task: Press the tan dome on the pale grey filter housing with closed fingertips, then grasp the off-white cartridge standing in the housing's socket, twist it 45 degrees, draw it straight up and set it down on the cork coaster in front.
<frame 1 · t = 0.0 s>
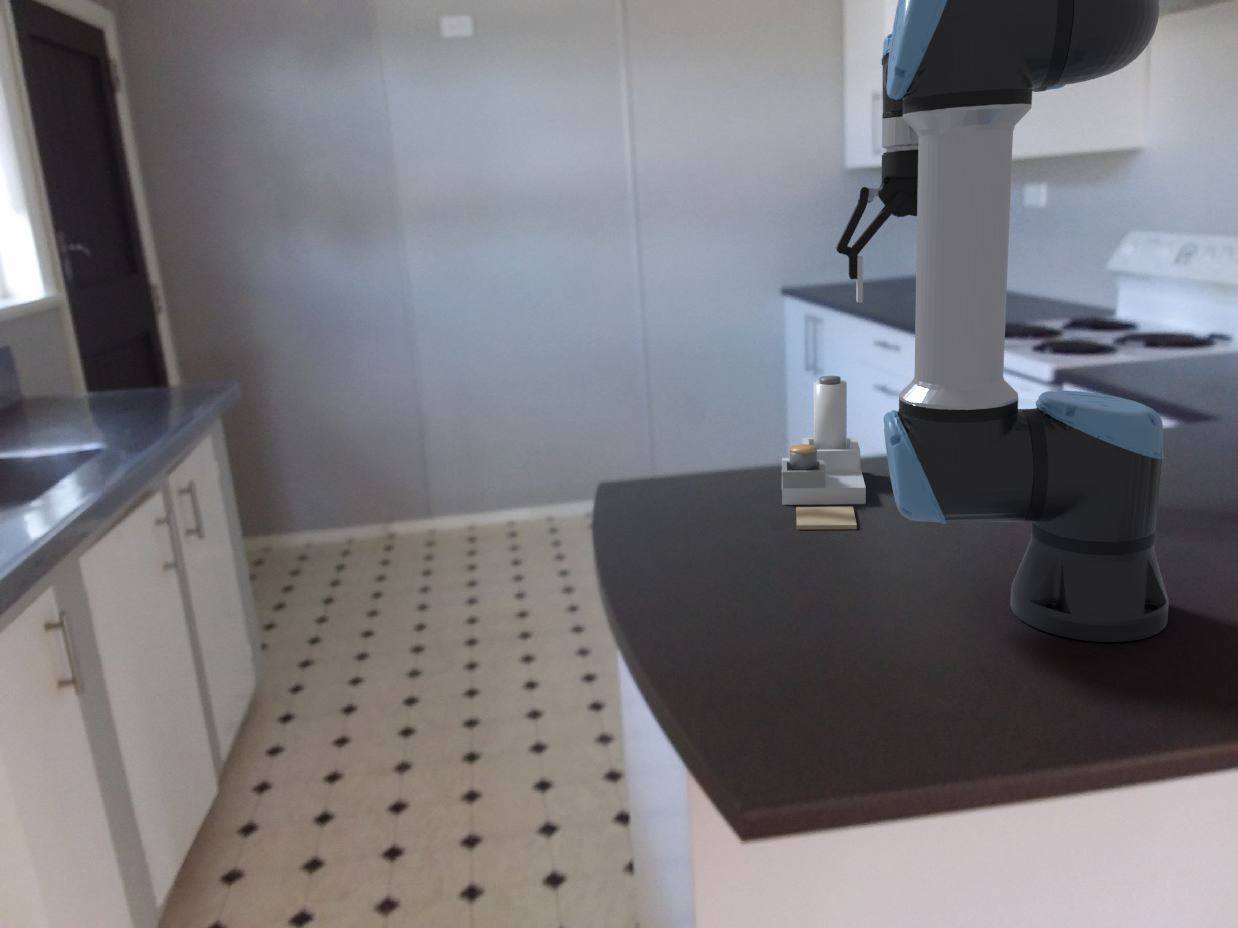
hand: (906, 299, 148), 28 cm above the counter, fingers open, 13 cm apart
coaster: (825, 519, 141), on the counter
cartridge: (830, 465, 158), point 2 cm above the counter, touching housing
housing: (821, 487, 155), on the counter
tan dome: (803, 457, 149), point 6 cm above the counter, slide at 0.0 cm
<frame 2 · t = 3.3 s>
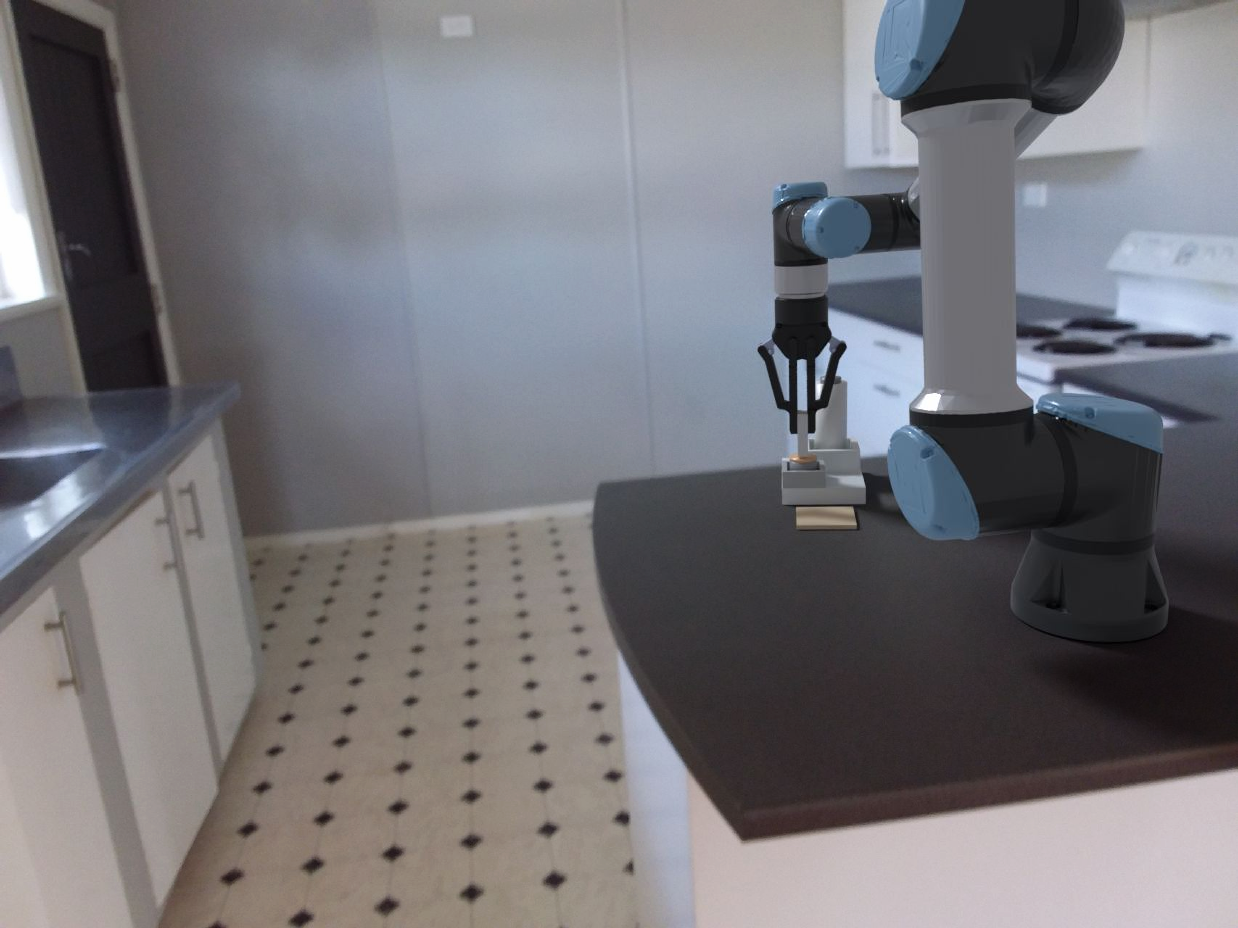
hand: (802, 454, 149), 7 cm above the counter, fingers closed
tan dome: (803, 466, 149), point 5 cm above the counter, slide at 1.4 cm, touching gripper
everything else where it was.
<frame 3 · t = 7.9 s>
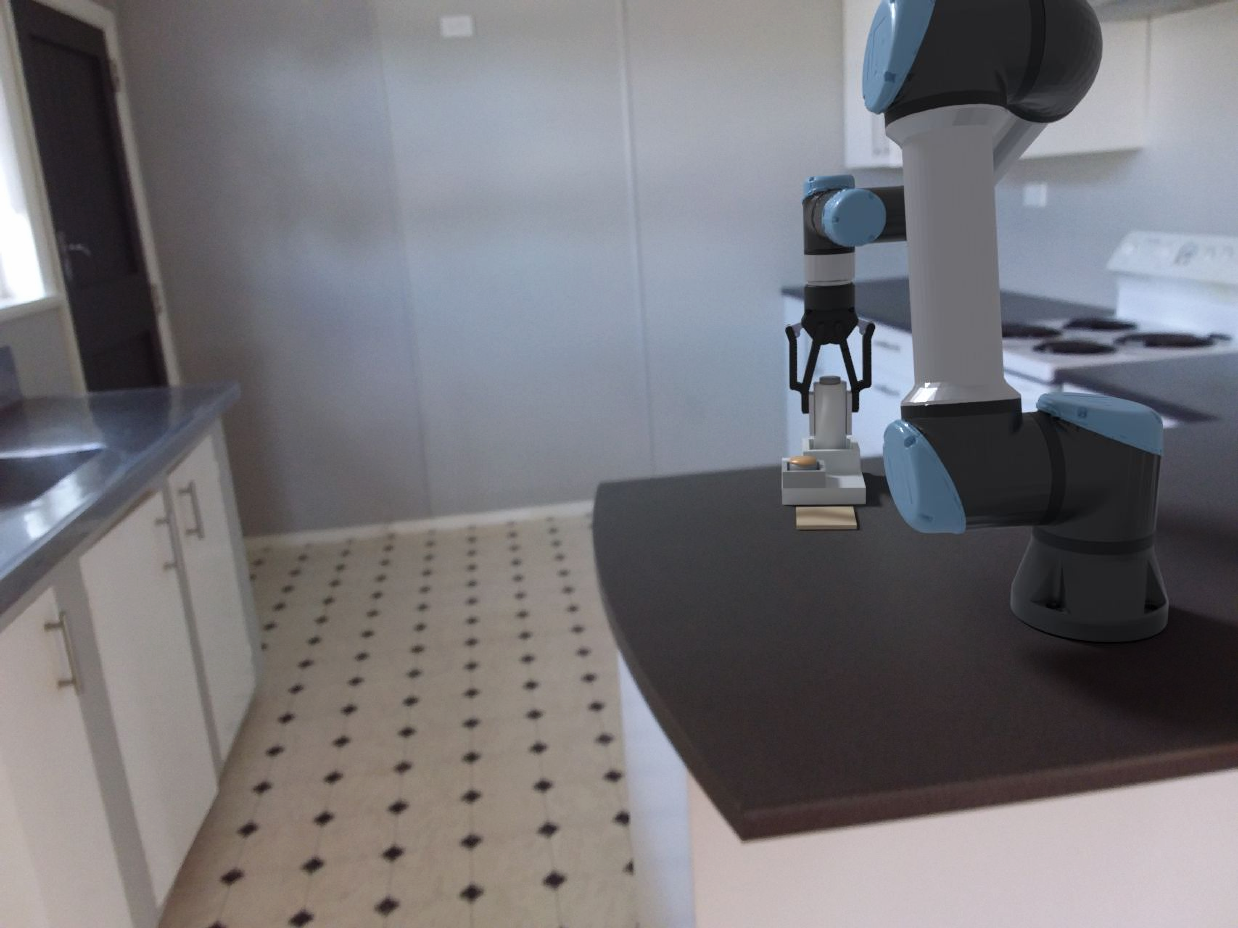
hand: (830, 433, 156), 8 cm above the counter, fingers closed on cartridge, 5 cm apart
cartridge: (830, 465, 158), point 3 cm above the counter, touching gripper, housing
tan dome: (803, 469, 150), point 5 cm above the counter, slide at 1.8 cm
everything else where it was.
when the fingers open (7 cm above the counter, at t = 15.5 s): cartridge drops 1 cm, resting on coaster.
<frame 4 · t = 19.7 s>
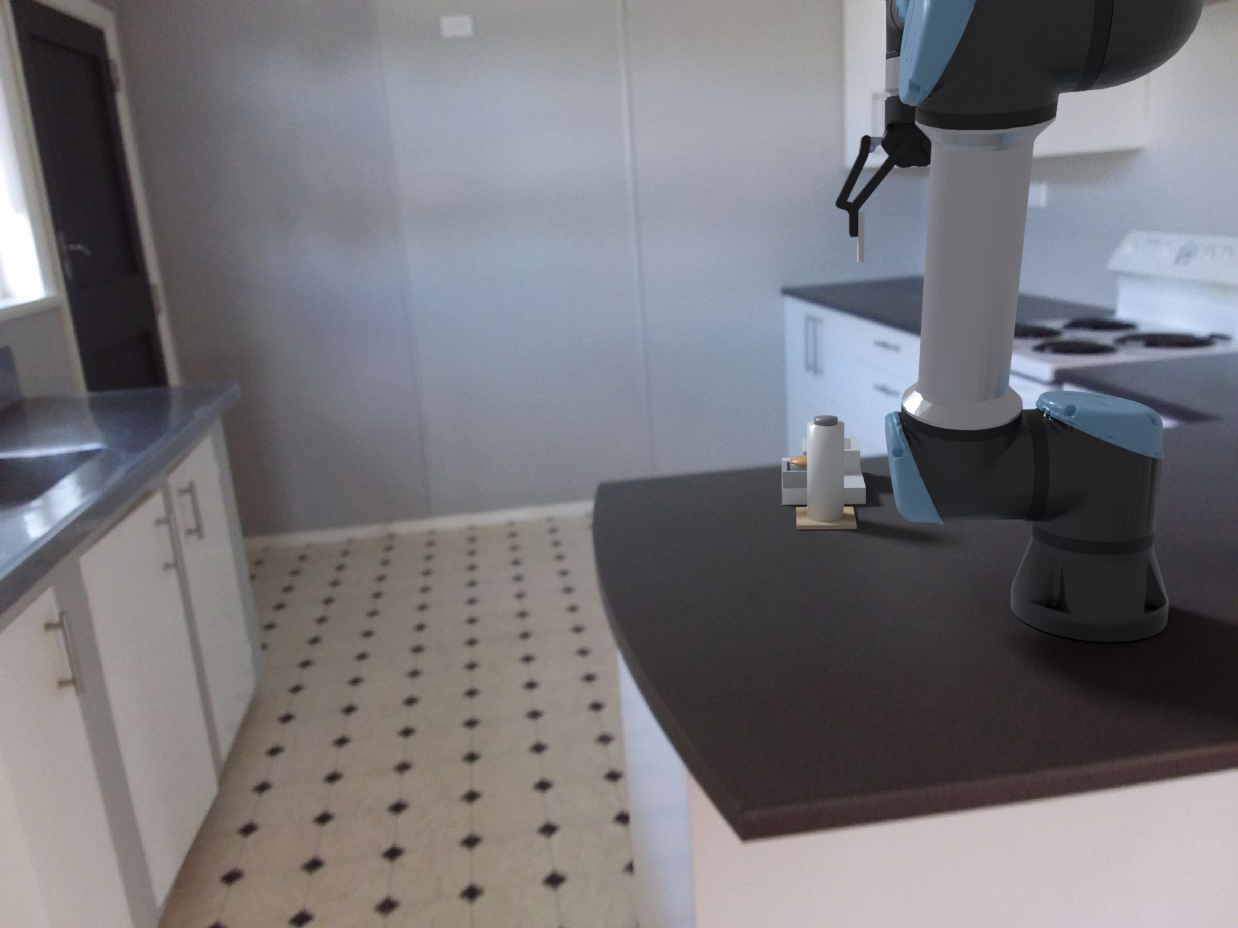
hand: (912, 259, 136), 35 cm above the counter, fingers open, 13 cm apart
cartridge: (825, 515, 140), point 1 cm above the counter, touching coaster
everything else where it was.
at the end: cartridge inside the target area on the coaster (0.1 cm from its centre), point 0.6 cm above the coaster's base; cartridge tilted 1°; tan dome slide at 1.8 cm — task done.
